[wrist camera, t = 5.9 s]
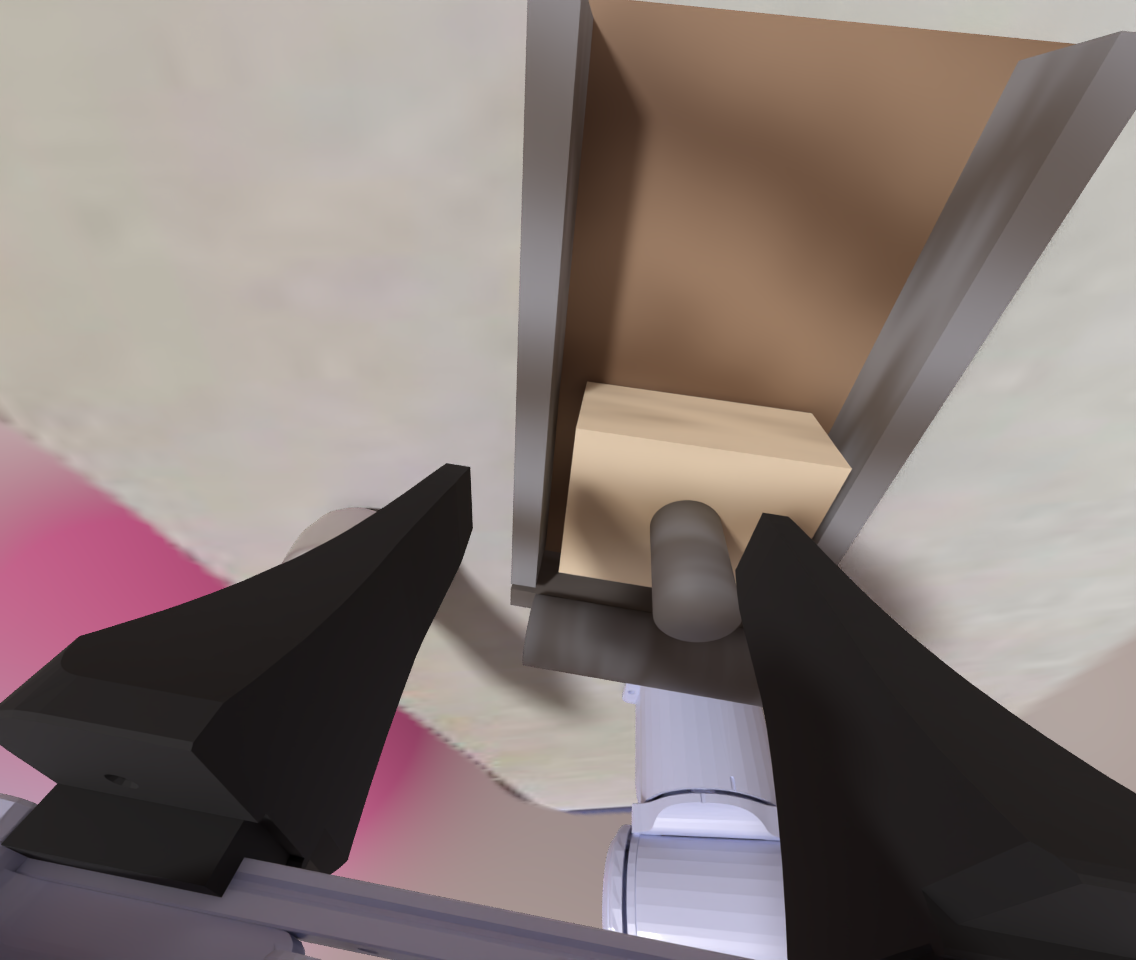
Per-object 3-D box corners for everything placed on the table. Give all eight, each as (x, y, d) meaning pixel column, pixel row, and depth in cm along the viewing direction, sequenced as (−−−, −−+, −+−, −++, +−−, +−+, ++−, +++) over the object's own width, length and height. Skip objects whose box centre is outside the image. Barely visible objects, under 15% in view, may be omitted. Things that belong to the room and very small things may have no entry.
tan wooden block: (751, 541, 21) (801, 701, 15) (570, 512, 22) (542, 656, 15) (811, 413, 17) (916, 557, 11) (587, 381, 18) (558, 502, 11)
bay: (760, 599, 25) (796, 727, 20) (522, 560, 26) (489, 673, 20) (1056, 53, 12) (1457, -60, 6) (549, 3, 13) (474, -143, 7)
